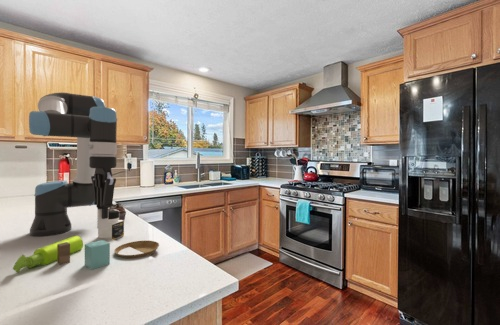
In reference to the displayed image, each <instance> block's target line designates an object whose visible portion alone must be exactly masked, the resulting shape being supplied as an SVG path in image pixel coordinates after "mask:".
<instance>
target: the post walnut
mask: <svg viewBox="0 0 500 325" xmlns="http://www.w3.org/2000/svg"><path fill="white" fill-rule="evenodd" d="M56 261H57V263H56V264H58V265H59V266H62V265H66V264H68V263H71V254H70V243H68V242H65V243H61V244H57V260H56Z"/></svg>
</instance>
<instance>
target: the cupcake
mask: <svg viewBox="0 0 500 325" xmlns="http://www.w3.org/2000/svg"><path fill="white" fill-rule="evenodd" d="M108 210H118V211H119V219H118V220H124V221H125V219H126V214H127V211H126V209H125V207H124V206H123V204H121V203H119V202H116V203H112V207H109V208H108Z"/></svg>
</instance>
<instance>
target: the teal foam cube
mask: <svg viewBox="0 0 500 325" xmlns="http://www.w3.org/2000/svg"><path fill="white" fill-rule="evenodd" d="M110 244H111V243H110V242H108V241H106V240H104V239H101V240H95V241H92V242H88V243H84V266H85V267H87V268H88V269H89V270H95V269H98V268H101V267H104V266H107V265H109V264H111V262H110V258H111V257H110V256H111V255H110V254H111V253H110V252H111V251H110V250H111V247H110Z"/></svg>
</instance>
